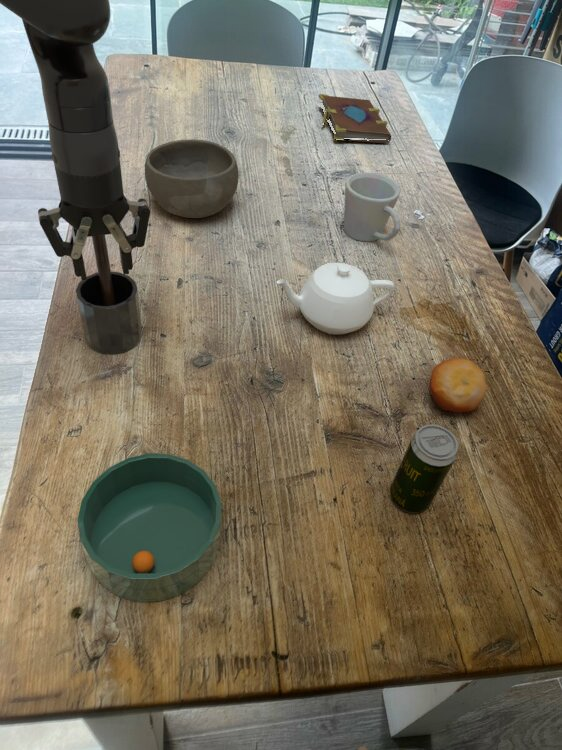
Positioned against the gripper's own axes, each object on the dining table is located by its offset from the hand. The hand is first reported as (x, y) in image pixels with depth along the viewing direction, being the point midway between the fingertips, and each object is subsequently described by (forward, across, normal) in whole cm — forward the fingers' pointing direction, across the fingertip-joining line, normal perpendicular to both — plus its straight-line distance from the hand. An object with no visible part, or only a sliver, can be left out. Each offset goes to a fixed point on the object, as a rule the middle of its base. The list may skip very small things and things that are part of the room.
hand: (104, 273), depth 81 cm
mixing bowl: (+12, +1, +35) cm, 37 cm away
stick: (+11, 0, +2) cm, 11 cm away
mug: (+12, -52, -16) cm, 56 cm away
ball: (+10, +3, +39) cm, 40 cm away
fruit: (+12, -45, +26) cm, 53 cm away
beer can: (+12, -31, +39) cm, 51 cm away
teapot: (+12, -35, +4) cm, 37 cm away
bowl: (+12, -21, -34) cm, 42 cm away
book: (+12, -70, -65) cm, 96 cm away
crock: (+12, 0, 0) cm, 12 cm away
